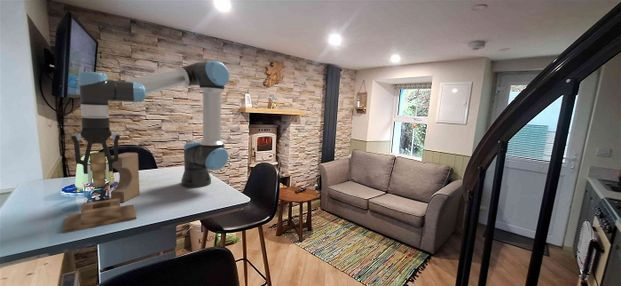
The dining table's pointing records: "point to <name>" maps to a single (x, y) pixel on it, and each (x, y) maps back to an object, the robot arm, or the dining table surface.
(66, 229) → the board
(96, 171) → the peg
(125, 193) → the decorative block
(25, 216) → the dining table surface
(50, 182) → the dining table surface
